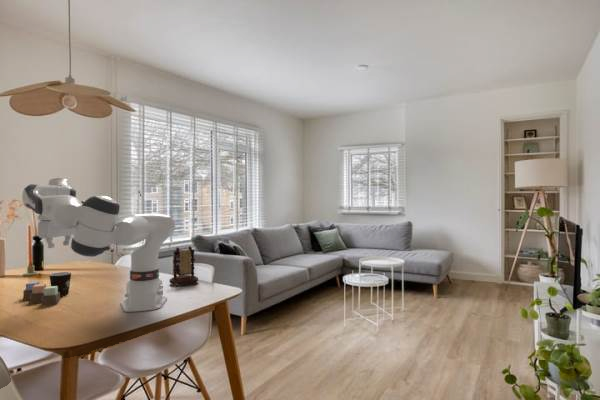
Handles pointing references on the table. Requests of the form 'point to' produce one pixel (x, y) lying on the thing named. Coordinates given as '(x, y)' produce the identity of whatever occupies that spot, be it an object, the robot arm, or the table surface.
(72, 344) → the table surface
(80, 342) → the table surface
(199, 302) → the table surface
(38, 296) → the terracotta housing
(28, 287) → the slate cap
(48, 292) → the sage cap
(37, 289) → the terracotta cap
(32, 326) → the table surface
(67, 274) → the coffee mug
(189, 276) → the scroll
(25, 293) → the slate housing
